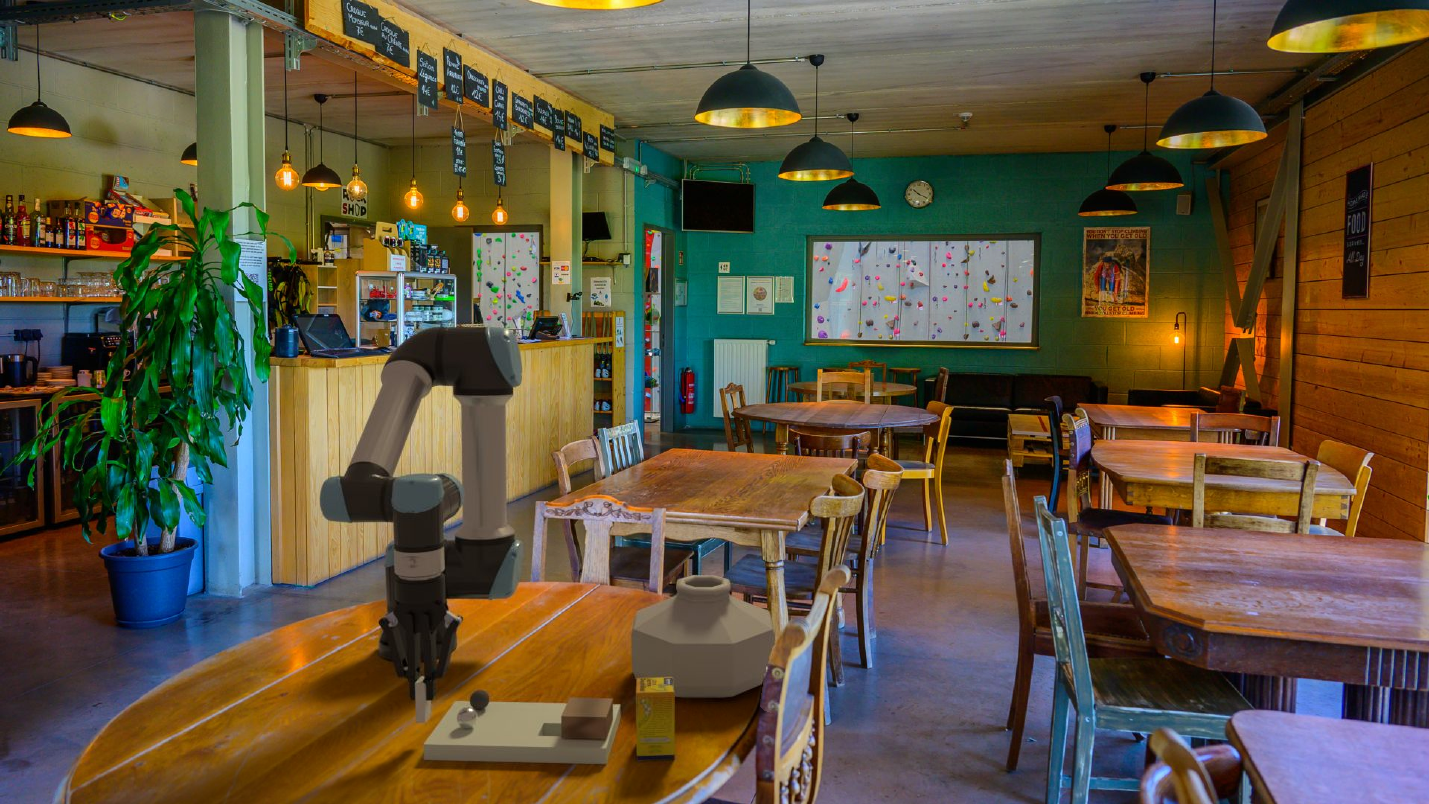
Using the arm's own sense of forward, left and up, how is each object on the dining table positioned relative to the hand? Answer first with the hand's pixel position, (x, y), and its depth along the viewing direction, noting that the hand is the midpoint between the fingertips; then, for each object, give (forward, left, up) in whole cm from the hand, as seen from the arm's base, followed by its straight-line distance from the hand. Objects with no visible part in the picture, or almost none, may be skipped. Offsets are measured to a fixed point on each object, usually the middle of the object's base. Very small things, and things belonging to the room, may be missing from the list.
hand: (423, 719), depth 153 cm
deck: (+16, +2, -4) cm, 17 cm away
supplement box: (+37, -1, -4) cm, 37 cm away
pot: (+43, +29, -4) cm, 52 cm away
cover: (+26, 0, -1) cm, 26 cm away
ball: (+7, 0, 0) cm, 7 cm away
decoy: (+7, +7, 0) cm, 10 cm away
